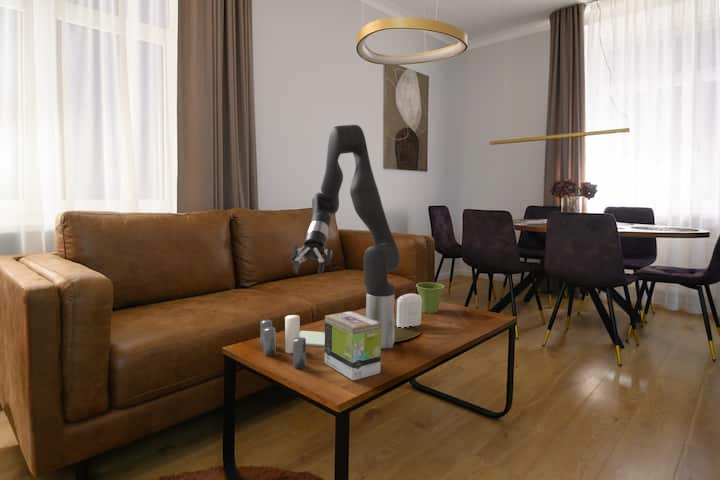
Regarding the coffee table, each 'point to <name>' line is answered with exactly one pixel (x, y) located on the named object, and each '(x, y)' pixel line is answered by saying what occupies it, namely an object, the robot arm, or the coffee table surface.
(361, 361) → the tea box
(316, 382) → the coffee table surface
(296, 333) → the cylinder
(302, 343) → the posts
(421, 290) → the plant pot
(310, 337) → the mat
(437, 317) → the coffee table surface
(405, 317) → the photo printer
